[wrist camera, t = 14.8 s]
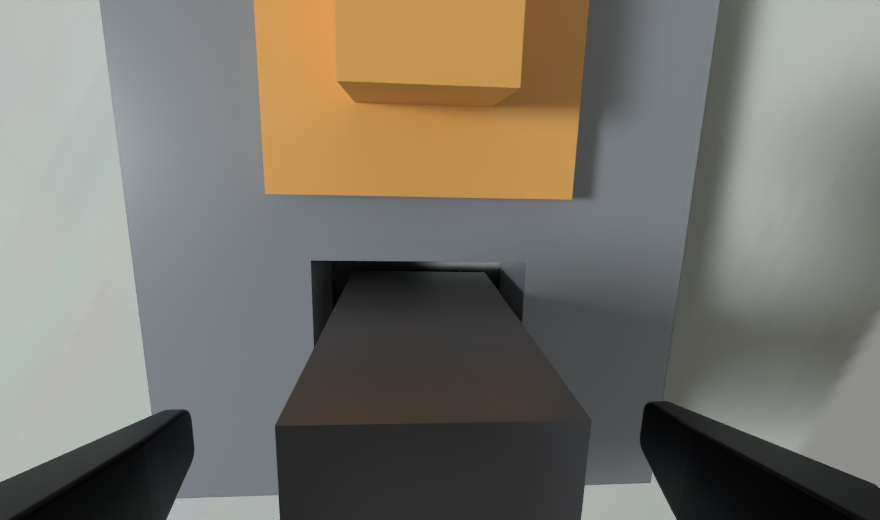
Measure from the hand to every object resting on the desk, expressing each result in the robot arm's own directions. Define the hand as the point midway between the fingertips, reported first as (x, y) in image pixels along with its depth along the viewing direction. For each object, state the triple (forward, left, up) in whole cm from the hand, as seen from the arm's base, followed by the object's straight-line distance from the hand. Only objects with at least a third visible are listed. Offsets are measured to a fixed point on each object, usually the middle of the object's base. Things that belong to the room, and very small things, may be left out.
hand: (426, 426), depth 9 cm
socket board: (+3, 0, -6) cm, 7 cm away
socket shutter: (+8, 0, -3) cm, 8 cm away
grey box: (0, 0, -6) cm, 6 cm away
